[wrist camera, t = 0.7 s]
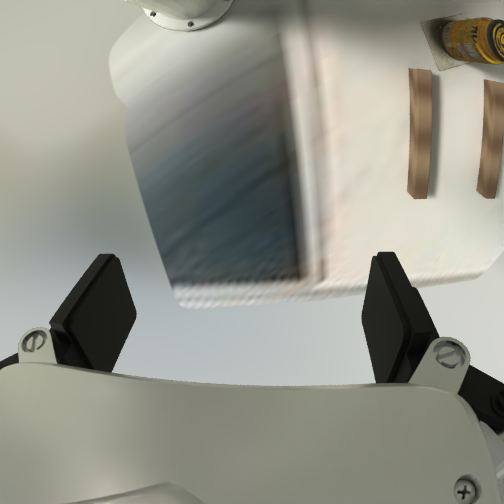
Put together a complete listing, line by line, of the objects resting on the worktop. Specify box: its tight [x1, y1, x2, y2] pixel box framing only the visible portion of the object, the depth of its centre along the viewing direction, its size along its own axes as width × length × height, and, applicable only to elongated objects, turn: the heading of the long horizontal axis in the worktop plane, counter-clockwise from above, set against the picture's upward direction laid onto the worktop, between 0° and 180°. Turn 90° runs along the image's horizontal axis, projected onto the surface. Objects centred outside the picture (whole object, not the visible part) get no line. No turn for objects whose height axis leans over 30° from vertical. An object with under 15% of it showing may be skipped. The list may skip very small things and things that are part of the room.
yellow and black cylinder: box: [421, 14, 504, 71], centre depth 25 cm, size 7×8×12 cm
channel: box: [407, 68, 504, 199], centre depth 36 cm, size 18×15×3 cm
